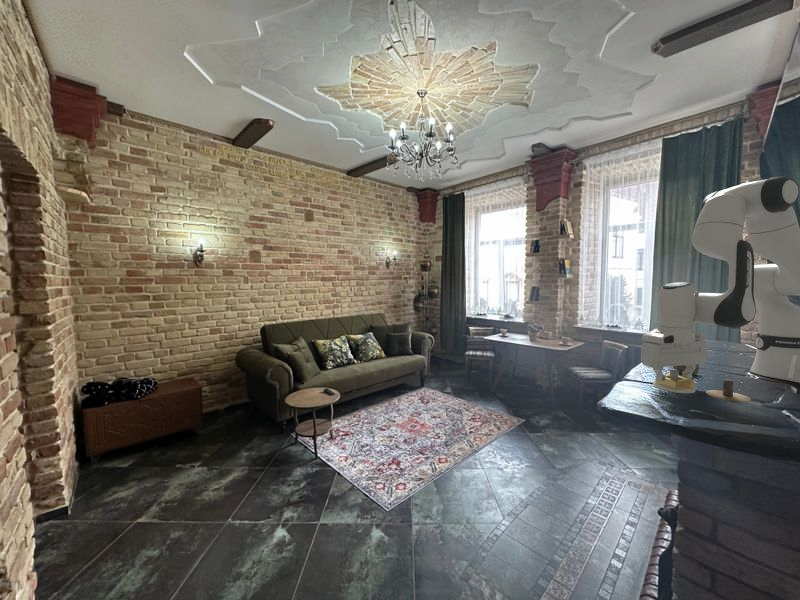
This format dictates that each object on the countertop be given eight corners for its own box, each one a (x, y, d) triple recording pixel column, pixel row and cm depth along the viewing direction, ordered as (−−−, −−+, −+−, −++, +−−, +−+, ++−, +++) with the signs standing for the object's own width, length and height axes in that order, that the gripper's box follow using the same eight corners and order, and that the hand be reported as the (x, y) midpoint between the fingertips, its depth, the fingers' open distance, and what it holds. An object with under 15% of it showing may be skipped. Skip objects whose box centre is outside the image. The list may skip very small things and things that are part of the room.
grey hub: (686, 388, 101) (686, 366, 100) (702, 399, 92) (703, 376, 91) (648, 385, 104) (648, 364, 104) (660, 395, 95) (660, 373, 95)
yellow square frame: (672, 381, 101) (672, 374, 101) (693, 388, 95) (694, 380, 95) (655, 383, 101) (655, 375, 100) (675, 390, 94) (675, 381, 94)
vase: (704, 379, 108) (704, 354, 107) (680, 379, 109) (681, 354, 109) (689, 373, 115) (690, 350, 114) (668, 373, 116) (668, 349, 115)
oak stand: (738, 396, 93) (739, 376, 92) (759, 408, 84) (760, 387, 84) (699, 393, 96) (700, 374, 96) (716, 404, 88) (716, 383, 87)
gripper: (693, 331, 101) (692, 373, 102) (637, 335, 99) (636, 378, 99) (715, 334, 95) (713, 379, 96) (656, 339, 92) (655, 385, 93)
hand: (674, 379), depth 98 cm, fingers open, 8 cm apart
